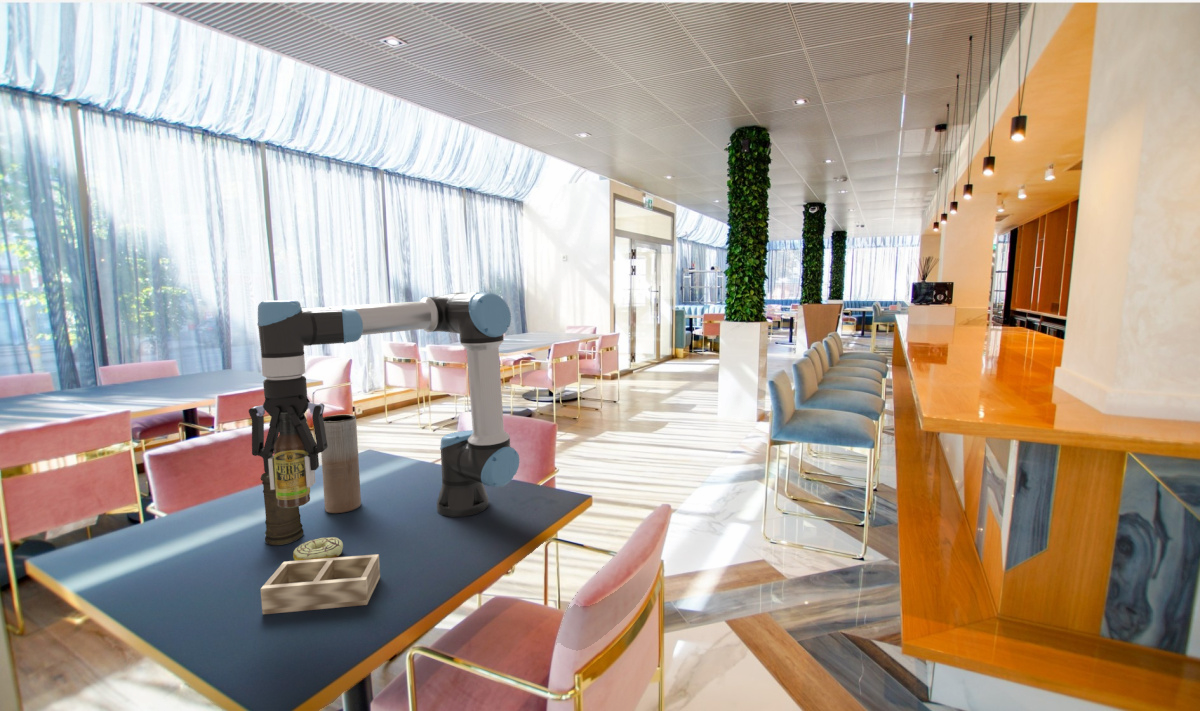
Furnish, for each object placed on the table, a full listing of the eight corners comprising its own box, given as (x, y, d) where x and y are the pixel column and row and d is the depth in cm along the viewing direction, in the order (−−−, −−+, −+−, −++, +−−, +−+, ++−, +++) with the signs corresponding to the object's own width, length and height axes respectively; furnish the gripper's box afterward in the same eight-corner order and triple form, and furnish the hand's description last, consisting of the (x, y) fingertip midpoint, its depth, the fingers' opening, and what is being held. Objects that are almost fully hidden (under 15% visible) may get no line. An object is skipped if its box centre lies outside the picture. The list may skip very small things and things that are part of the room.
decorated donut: (350, 557, 130) (349, 543, 130) (303, 574, 123) (302, 559, 122) (333, 544, 137) (333, 530, 137) (288, 559, 130) (287, 544, 129)
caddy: (380, 577, 121) (378, 554, 120) (367, 604, 110) (365, 579, 109) (285, 585, 118) (283, 561, 117) (262, 614, 107) (260, 588, 106)
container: (286, 547, 135) (280, 479, 133) (256, 544, 137) (250, 477, 135) (311, 531, 144) (307, 468, 142) (283, 529, 146) (278, 465, 144)
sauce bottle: (274, 512, 107) (265, 415, 104) (279, 501, 112) (270, 409, 110) (310, 506, 109) (303, 412, 107) (313, 496, 115) (306, 406, 112)
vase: (364, 508, 159) (358, 418, 156) (327, 516, 154) (321, 423, 151) (357, 498, 168) (352, 412, 164) (322, 505, 162) (316, 416, 159)
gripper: (340, 372, 113) (347, 477, 115) (242, 375, 110) (251, 482, 112) (328, 378, 105) (336, 489, 108) (222, 381, 102) (233, 496, 105)
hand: (293, 485), depth 110 cm, fingers closed on sauce bottle, 6 cm apart
